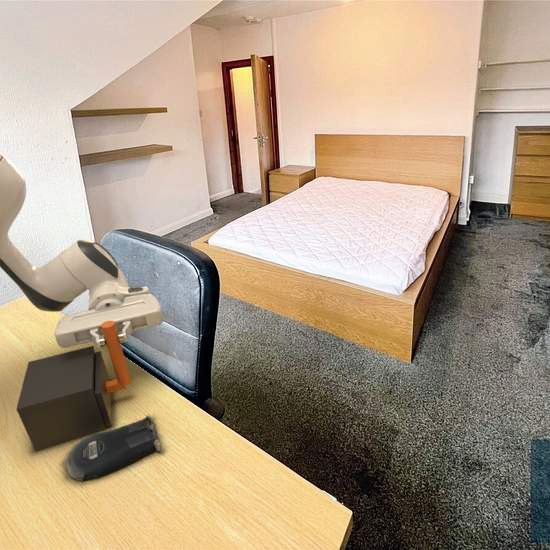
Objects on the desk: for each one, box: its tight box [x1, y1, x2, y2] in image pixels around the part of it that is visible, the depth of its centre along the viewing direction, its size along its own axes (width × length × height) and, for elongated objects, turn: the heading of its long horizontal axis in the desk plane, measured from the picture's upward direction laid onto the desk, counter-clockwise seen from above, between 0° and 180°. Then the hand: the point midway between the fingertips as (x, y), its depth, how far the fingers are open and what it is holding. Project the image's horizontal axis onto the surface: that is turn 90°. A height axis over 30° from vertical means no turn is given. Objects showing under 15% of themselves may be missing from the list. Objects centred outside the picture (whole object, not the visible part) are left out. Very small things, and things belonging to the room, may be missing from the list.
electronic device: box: [65, 413, 161, 482], centre depth 72 cm, size 9×6×15 cm
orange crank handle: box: [94, 321, 132, 428], centre depth 78 cm, size 16×14×18 cm
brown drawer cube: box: [15, 345, 107, 452], centre depth 79 cm, size 12×14×11 cm
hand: (112, 342), depth 77 cm, fingers closed on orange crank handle, 2 cm apart
